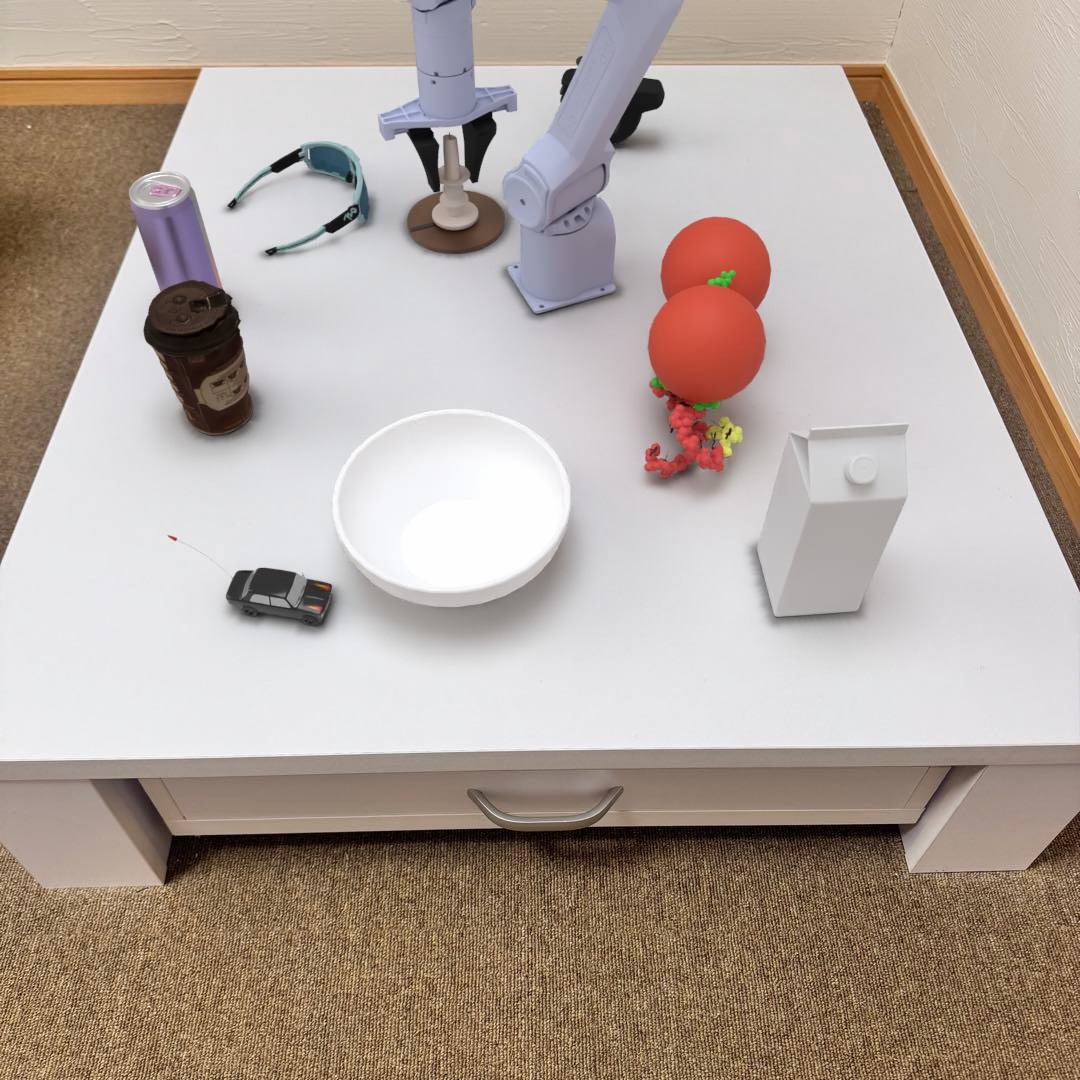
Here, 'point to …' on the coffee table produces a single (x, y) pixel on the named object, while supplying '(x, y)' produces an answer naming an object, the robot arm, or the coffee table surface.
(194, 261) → the beverage can
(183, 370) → the coffee cup
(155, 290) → the coffee table surface
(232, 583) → the toy car
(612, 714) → the coffee table surface
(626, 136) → the controller
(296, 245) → the sunglasses
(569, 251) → the robot arm
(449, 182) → the candle
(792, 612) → the milk carton
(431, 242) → the coaster
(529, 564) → the bowl
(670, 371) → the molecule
